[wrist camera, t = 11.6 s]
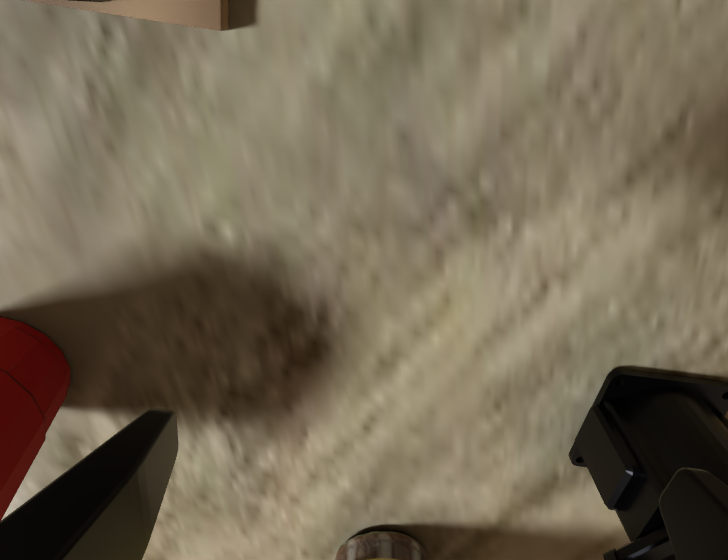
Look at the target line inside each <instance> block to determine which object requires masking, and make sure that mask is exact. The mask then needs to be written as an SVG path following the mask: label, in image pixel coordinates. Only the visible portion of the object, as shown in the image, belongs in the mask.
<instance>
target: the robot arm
mask: <svg viewBox="0 0 728 560" xmlns="http://www.w3.org/2000/svg"><path fill="white" fill-rule="evenodd" d="M618 379H620V380H618ZM616 380H618V381H616ZM727 411H728V382H720V381H712V380H704V379H696V378H688V377H680V376H672V375H664V374H655V373H647V372H639V371H631V370H623V369H616V370H613V371H611V372H610V373H609V374H608V375H607V377H606V379H605V381H604V383H603V385H602V387H601V389H600V391H599V393H598V395H597V397H596V399H595V401H594V403H593V405H592V407H591V408H590V410H589V412H588V414H587V416H586V418H585V420H584V422H583V424H582V426H581V429H580V431H579V433H578V435H577V437H576V439H575V442H574V444H573V446H572V448H571V450H570V452H569V458H570V460H571V462H572V464H573V465H575V466H581V467H587V468H588V470H589V472H590V474H591V476H592V478H593V480H594V482H595V485H596V487H597V489H598V491H599V493H600V495H601V497H602V499H603V501H604V504H605V505H606V506H607V508H608V509H610V510H615V511H616V513H617V515H618V517H619V519H620V521H621V523H622V525H623V527H624V529H625V531H626V533H627V535H628V537H629V539H630V541H631V542H630V543H628V544H626V545H624V546H623V547H621V548H619V549H617V550H616V549H614V548H613V549H611V550H610V551H608V552H606V553H604V554H603V556H604V560H728V420H727V419H726V417H725V416H724V415H725V414H726V412H727ZM177 452H178V431H177V418H176V414H175V412H174V411H172V410H164V409H155V408H152V409H149V410H147V411H146V412H144V413H143V414H142V415H140V416H139V417H138V418H136V419H135V420H134V421H132V422H131V423H130V424H128V425H127V426H126V427H124V428H123V429H122V430H121V431H119V432H118V433H117V434H115V435H114V436H113V437H111V438H110V439H109V440H107V441H106V442H105V443H103V444H102V445H101V446H99V447H98V448H97V449H95V450H94V451H93V452H91V453H90V454H89V455H87V456H86V457H85V458H83V459H82V460H81V461H80V462H78V463H77V464H76V465H74V466H73V467H72V468H70V469H69V470H68V471H66V472H65V473H64V474H62V475H61V476H60V477H58V478H57V479H56V480H54V481H53V482H52V483H50V484H49V485H48V486H46V487H45V488H44V489H42V490H41V491H40V492H38V493H37V494H36V495H35V496H33V497H32V498H31V499H29V500H28V501H27V502H25V503H24V504H23V505H21V506H20V507H19V508H17V509H16V510H15V511H13V512H12V513H11V514H9V515H8V516H7V517H5V518H4V519H3V520H1V521H0V560H142V558H143V556H144V553H145V551H146V548H147V546H148V543H149V540H150V537H151V534H152V531H153V528H154V525H155V522H156V519H157V516H158V513H159V510H160V506H161V503H162V500H163V497H164V494H165V491H166V488H167V485H168V482H169V479H170V476H171V472H172V469H173V466H174V463H175V460H176V457H177Z"/></svg>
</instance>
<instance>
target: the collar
mask: <svg viewBox="0 0 728 560" xmlns="http://www.w3.org/2000/svg"><path fill="white" fill-rule="evenodd" d="M24 1H30V2H37V3H43V4H50V5H56V6H63V7H69V8H76V9H82V10H89V11H95V12H102V13H108V14H115V15H121V16H128V17H134V18H141V19H147V20H154V21H160V22H167V23H173V24H180V25H186V26H193V27H199V28H206V29H212V30H219V31H223V30H228V7H229V0H24Z"/></svg>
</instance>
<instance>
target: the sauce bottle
mask: <svg viewBox="0 0 728 560" xmlns="http://www.w3.org/2000/svg"><path fill="white" fill-rule="evenodd" d="M335 560H427V556H426V553H425V550H424V548H423V547H422V545H421V544H420V543H418V542H417V541H416V540H415V539H413V538H411V537H409V536H407V535H404V534H402V533H398V532H392V531H391V532H378V531H376V532H370V533H365V534H362V535H357V536H355V537H353V538H351V539H349V540H348V541H347V542H345V543H344V544H343V545H342V546H341V547H340V548H339V550H338V553H337V555H336V558H335Z"/></svg>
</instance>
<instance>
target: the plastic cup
mask: <svg viewBox="0 0 728 560" xmlns="http://www.w3.org/2000/svg"><path fill="white" fill-rule="evenodd" d="M69 385H70V367H69V365H68V363H67V361H66V359H65V357H64V355H63V353H62V351H61V350H60V349H59V348H58V347H57V346H56V345H55V344H54V343H53V342H52V341H51V340H50V339H49V338H48V337H47V336H46V335H45V334H43V333H41V332H39V331H37V330H36V329H34V328H32V327H30V326H29V325H27V324H25V323H23V322H19V321H15V320H11V319H7V318H3V317H0V521H1V519H2V517H3V516H4V514H5V512H6V510H7V508H8V507H9V505H10V503H11V501H12V499H13V497H14V496H15V494H16V492H17V490H18V488H19V486H20V485H21V483H22V481H23V479H24V477H25V475H26V474H27V472H28V470H29V468H30V466H31V464H32V463H33V461H34V459H35V457H36V455H37V454H38V452H39V450H40V448H41V446H42V444H43V443H44V441H45V434H46V432H47V430H48V428H49V427H50V425H51V423H52V421H53V419H54V417H55V416H56V414H57V412H58V410H59V408H60V406H61V405H62V403H63V401H64V399H65V397H66V395H67V389H68V387H69Z"/></svg>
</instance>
